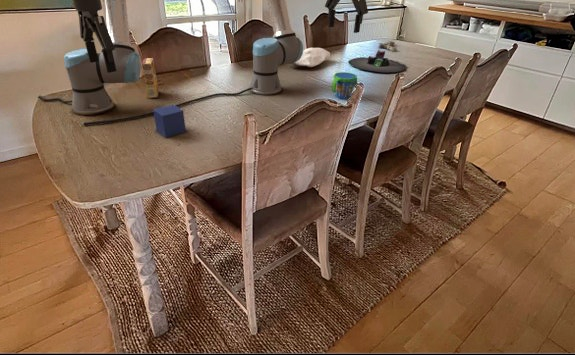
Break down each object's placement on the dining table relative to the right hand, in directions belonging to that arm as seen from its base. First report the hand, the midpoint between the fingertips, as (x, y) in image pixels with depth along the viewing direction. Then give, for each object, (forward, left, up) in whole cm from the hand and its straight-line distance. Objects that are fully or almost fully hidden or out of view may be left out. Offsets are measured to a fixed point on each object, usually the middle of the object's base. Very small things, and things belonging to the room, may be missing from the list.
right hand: (343, 29), depth 149 cm
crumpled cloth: (-1, +64, -32) cm, 71 cm away
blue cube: (-70, -24, -32) cm, 81 cm away
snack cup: (+6, +8, -32) cm, 33 cm away
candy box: (-82, +16, -32) cm, 89 cm away
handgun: (+71, +104, -32) cm, 130 cm away
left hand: (-89, -23, -8) cm, 92 cm away
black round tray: (+43, +60, -32) cm, 80 cm away
